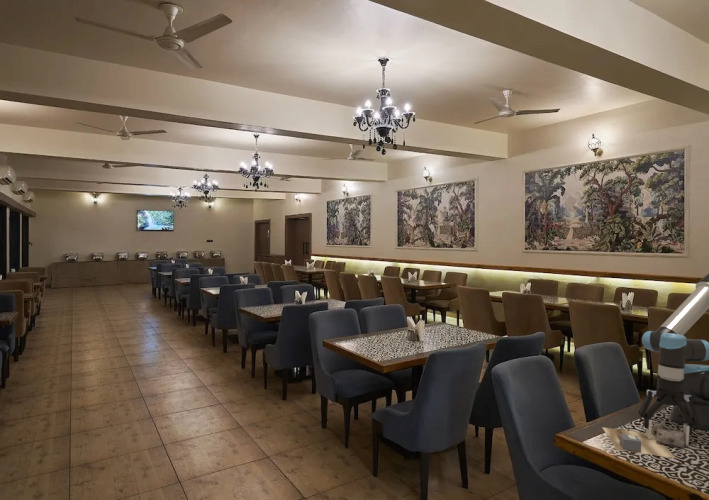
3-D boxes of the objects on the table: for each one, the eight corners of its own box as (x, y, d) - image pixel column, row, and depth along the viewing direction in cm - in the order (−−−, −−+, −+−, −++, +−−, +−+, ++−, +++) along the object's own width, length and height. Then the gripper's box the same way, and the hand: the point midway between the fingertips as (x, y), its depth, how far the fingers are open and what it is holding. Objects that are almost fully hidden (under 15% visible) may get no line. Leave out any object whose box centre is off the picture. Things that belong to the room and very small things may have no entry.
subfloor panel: (654, 436, 162) (654, 434, 162) (676, 460, 143) (676, 458, 143) (602, 429, 167) (602, 427, 167) (616, 451, 148) (616, 449, 148)
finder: (635, 446, 151) (636, 435, 151) (640, 452, 146) (641, 440, 146) (619, 443, 153) (619, 432, 153) (623, 449, 148) (624, 438, 148)
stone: (652, 421, 166) (685, 429, 159) (651, 437, 165) (684, 446, 158) (649, 424, 155) (685, 432, 149) (648, 441, 154) (684, 450, 148)
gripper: (704, 379, 157) (700, 442, 157) (630, 370, 163) (626, 430, 164) (714, 385, 150) (710, 451, 150) (636, 376, 156) (632, 438, 156)
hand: (666, 440), depth 157 cm, fingers open, 11 cm apart
